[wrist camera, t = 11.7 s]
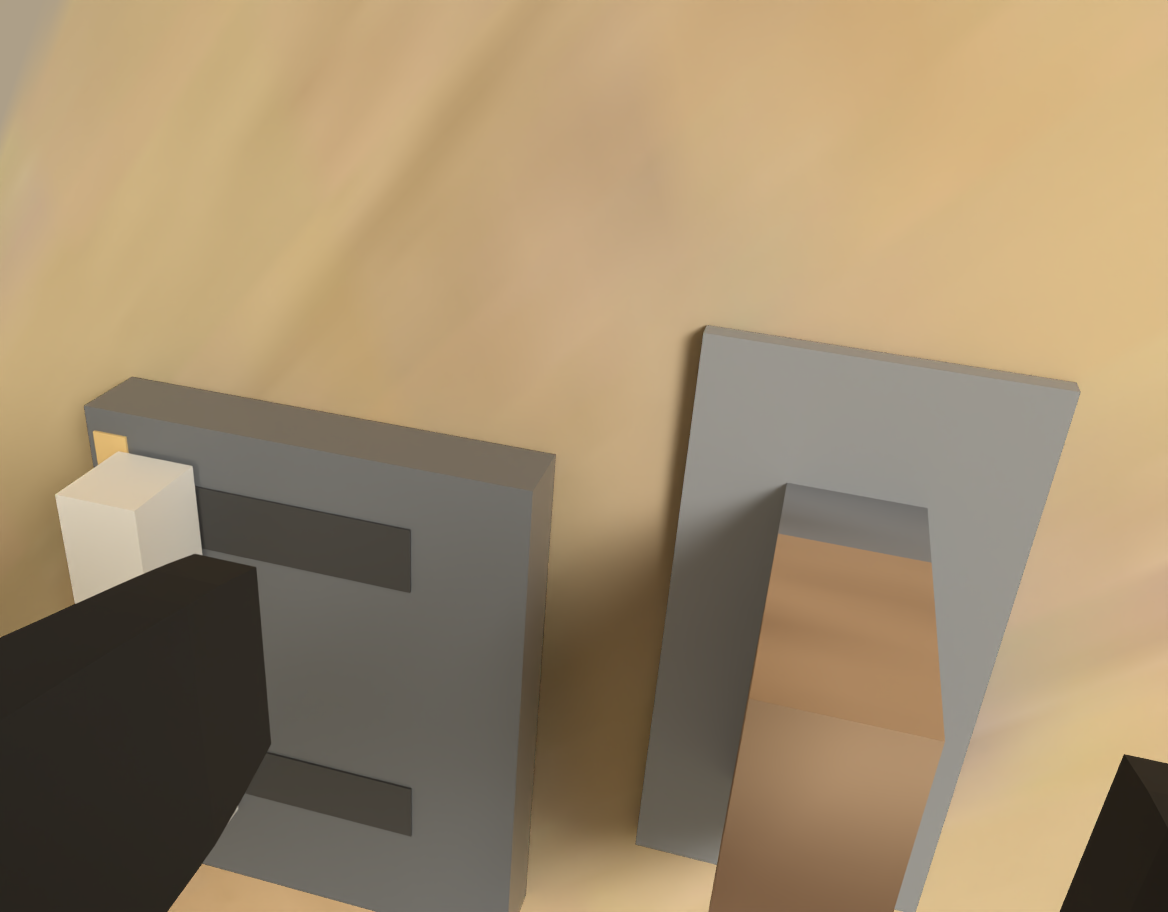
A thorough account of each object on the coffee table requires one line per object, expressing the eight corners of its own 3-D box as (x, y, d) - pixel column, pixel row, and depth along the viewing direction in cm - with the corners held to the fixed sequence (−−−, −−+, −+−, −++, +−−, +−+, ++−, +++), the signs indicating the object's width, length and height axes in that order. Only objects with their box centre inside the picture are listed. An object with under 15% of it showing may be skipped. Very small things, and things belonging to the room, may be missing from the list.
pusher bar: (850, 807, 21) (838, 1090, 16) (732, 779, 22) (684, 1046, 17) (927, 508, 18) (945, 741, 13) (786, 482, 19) (748, 698, 13)
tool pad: (914, 899, 23) (914, 914, 22) (639, 830, 24) (635, 844, 23) (1076, 382, 17) (1081, 392, 17) (706, 324, 18) (703, 332, 18)
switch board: (525, 895, 25) (505, 949, 24) (190, 806, 27) (154, 852, 26) (555, 454, 20) (532, 492, 19) (132, 377, 22) (82, 406, 20)
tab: (204, 570, 21) (151, 621, 20) (133, 555, 22) (75, 604, 20) (192, 466, 20) (134, 511, 19) (118, 451, 20) (55, 494, 19)
